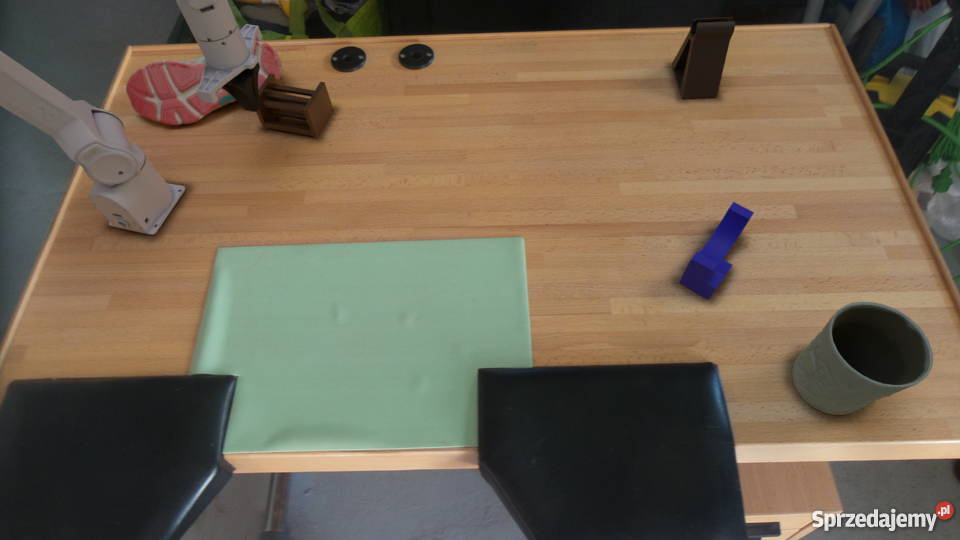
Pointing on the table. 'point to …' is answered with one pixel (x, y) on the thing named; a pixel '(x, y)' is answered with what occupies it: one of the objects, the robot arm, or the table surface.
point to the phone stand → (703, 57)
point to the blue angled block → (716, 253)
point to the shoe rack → (294, 107)
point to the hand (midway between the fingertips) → (252, 108)
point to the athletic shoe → (186, 87)
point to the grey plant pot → (861, 358)
